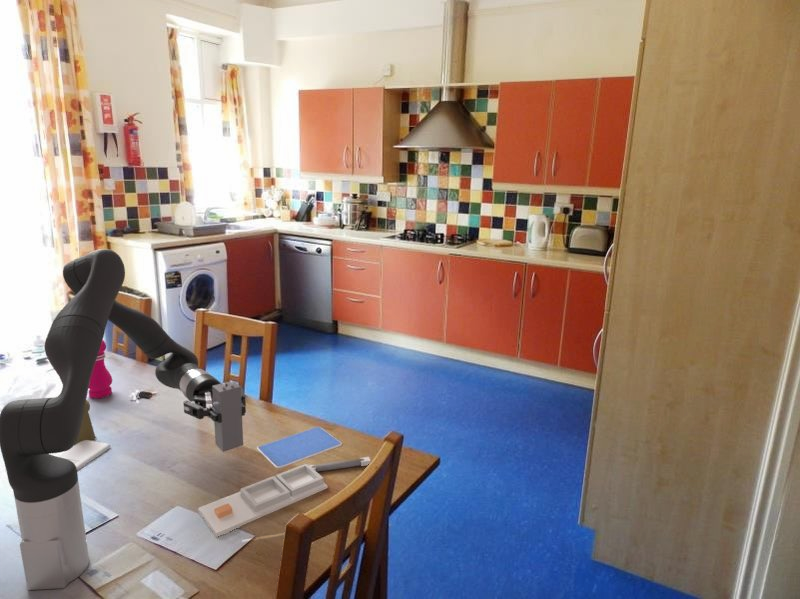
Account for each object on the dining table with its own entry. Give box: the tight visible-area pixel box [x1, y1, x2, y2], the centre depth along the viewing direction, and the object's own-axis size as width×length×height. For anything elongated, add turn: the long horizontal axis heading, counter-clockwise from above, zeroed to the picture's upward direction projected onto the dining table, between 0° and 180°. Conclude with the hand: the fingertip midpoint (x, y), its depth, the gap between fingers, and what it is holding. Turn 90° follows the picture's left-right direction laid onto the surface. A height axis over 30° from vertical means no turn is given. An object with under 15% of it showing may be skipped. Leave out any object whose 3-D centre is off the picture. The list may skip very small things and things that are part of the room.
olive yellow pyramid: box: [74, 399, 96, 445], centre depth 136 cm, size 6×6×11 cm
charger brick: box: [212, 380, 244, 453], centre depth 113 cm, size 4×5×15 cm
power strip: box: [197, 462, 328, 538], centre depth 115 cm, size 26×10×2 cm, turn 131°
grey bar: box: [305, 456, 372, 473], centre depth 128 cm, size 16×2×2 cm, turn 107°
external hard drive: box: [56, 440, 111, 471], centre depth 129 cm, size 2×8×12 cm
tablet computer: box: [256, 426, 343, 469], centre depth 138 cm, size 19×13×1 cm, turn 130°
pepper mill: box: [88, 339, 113, 399], centre depth 161 cm, size 7×7×20 cm
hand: (231, 415), depth 112 cm, fingers closed on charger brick, 4 cm apart
